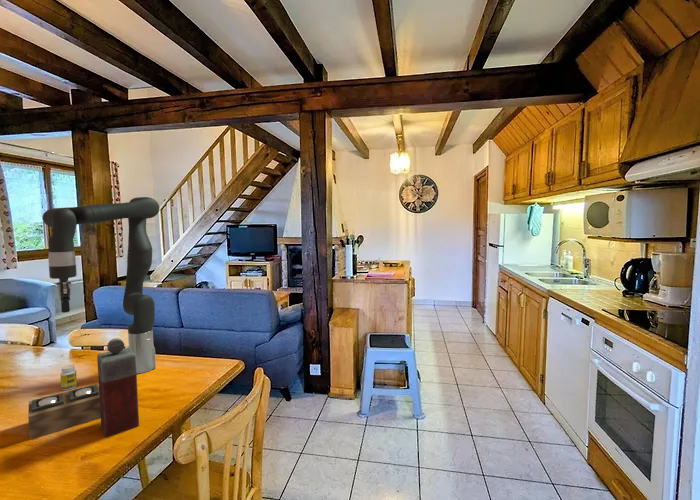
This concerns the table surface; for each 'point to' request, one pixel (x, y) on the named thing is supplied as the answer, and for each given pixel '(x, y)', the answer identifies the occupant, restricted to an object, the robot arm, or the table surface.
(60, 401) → the brown wooden block
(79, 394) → the peg
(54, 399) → the peg
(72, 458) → the table surface
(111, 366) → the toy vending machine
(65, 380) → the supplement bottle
